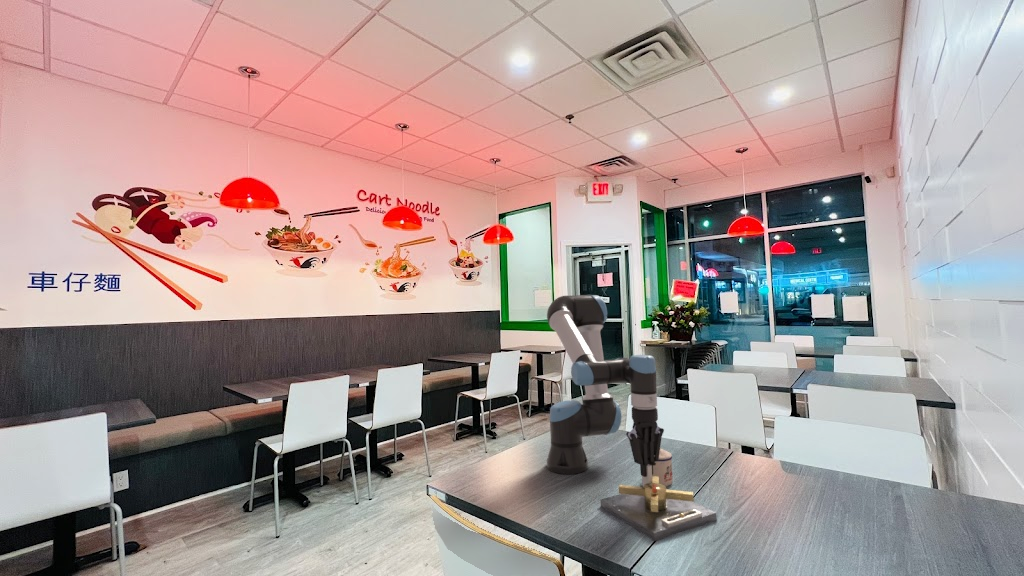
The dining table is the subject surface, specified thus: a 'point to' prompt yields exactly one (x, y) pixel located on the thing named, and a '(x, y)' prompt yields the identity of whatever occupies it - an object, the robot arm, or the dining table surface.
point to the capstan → (656, 494)
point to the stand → (658, 515)
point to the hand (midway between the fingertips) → (647, 486)
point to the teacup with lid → (663, 468)
